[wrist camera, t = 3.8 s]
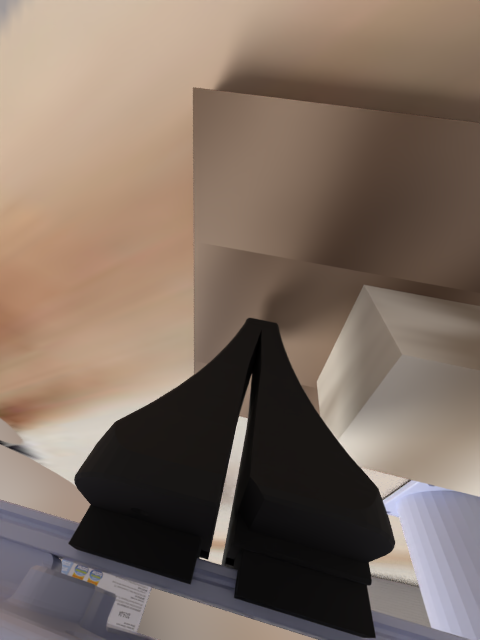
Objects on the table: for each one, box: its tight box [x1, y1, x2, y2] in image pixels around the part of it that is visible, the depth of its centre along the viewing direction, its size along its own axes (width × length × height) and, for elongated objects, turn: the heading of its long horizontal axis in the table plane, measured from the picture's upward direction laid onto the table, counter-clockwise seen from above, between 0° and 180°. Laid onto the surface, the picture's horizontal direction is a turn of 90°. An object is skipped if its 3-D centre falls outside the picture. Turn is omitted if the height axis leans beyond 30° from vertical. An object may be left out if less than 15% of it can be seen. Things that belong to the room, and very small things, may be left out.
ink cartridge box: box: [61, 560, 152, 632], centre depth 28 cm, size 10×6×14 cm, turn 49°
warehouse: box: [367, 576, 431, 628], centre depth 37 cm, size 30×14×8 cm, turn 97°
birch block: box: [317, 285, 480, 497], centre depth 9 cm, size 6×6×4 cm
